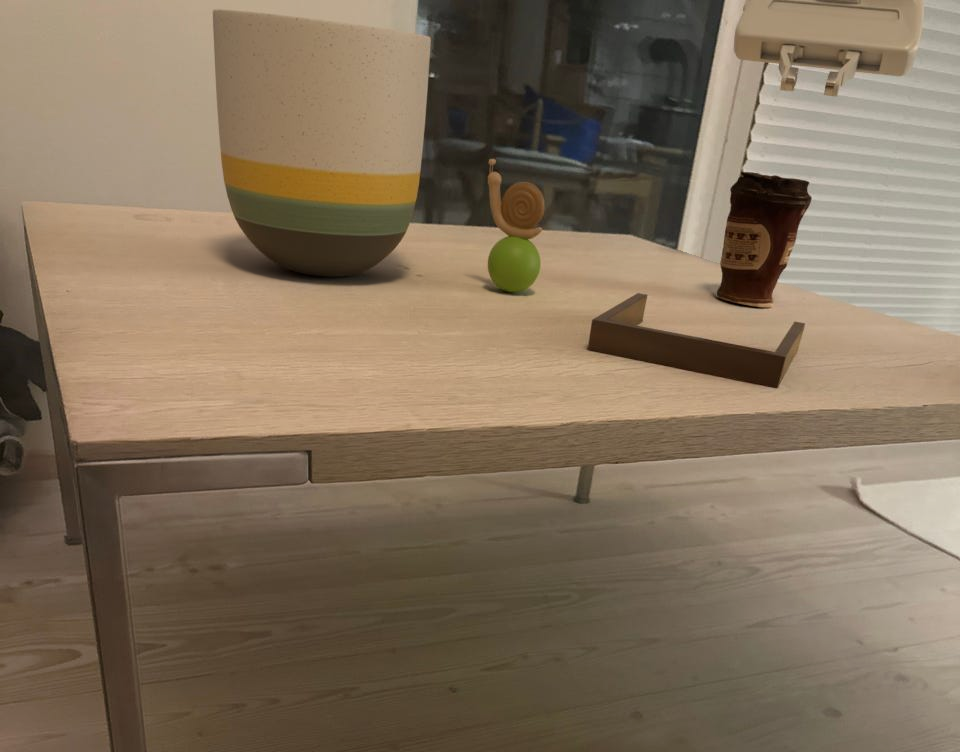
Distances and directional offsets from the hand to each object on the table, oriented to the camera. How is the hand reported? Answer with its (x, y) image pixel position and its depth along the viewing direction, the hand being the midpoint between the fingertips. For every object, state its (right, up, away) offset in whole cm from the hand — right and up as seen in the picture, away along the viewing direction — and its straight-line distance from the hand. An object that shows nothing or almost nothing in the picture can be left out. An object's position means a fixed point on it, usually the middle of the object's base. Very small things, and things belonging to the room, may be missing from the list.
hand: (808, 88), depth 104 cm
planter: (-53, -24, -9) cm, 59 cm away
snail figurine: (-34, -26, -7) cm, 44 cm away
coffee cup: (-7, -24, +1) cm, 25 cm away
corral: (-18, -36, -21) cm, 46 cm away
